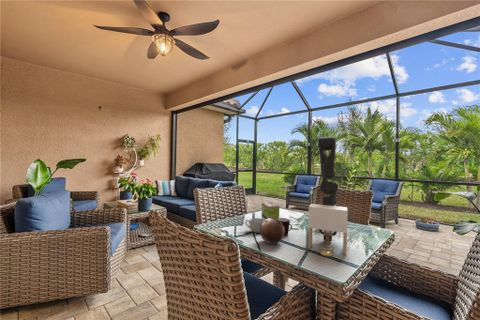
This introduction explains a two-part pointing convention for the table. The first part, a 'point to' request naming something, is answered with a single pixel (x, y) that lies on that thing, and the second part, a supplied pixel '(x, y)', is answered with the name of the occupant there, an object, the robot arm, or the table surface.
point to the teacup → (255, 224)
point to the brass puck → (326, 253)
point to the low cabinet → (328, 221)
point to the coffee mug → (285, 225)
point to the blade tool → (327, 242)
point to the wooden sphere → (272, 230)
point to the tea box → (270, 210)
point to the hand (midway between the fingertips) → (327, 241)
